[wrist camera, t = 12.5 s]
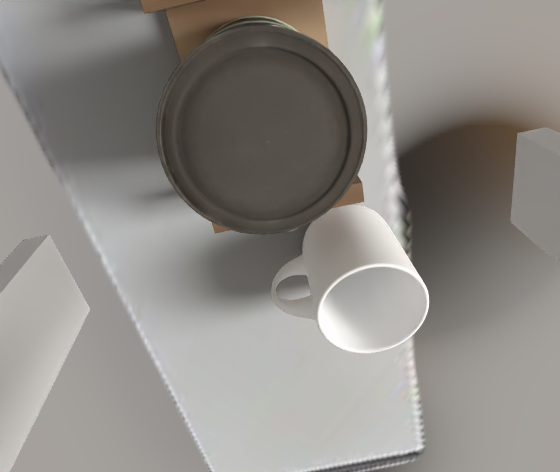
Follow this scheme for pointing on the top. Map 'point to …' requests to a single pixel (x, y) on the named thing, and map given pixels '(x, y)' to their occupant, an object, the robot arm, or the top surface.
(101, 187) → the top surface
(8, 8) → the top surface
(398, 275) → the mug
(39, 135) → the top surface
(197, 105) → the coffee can
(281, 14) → the cradle
